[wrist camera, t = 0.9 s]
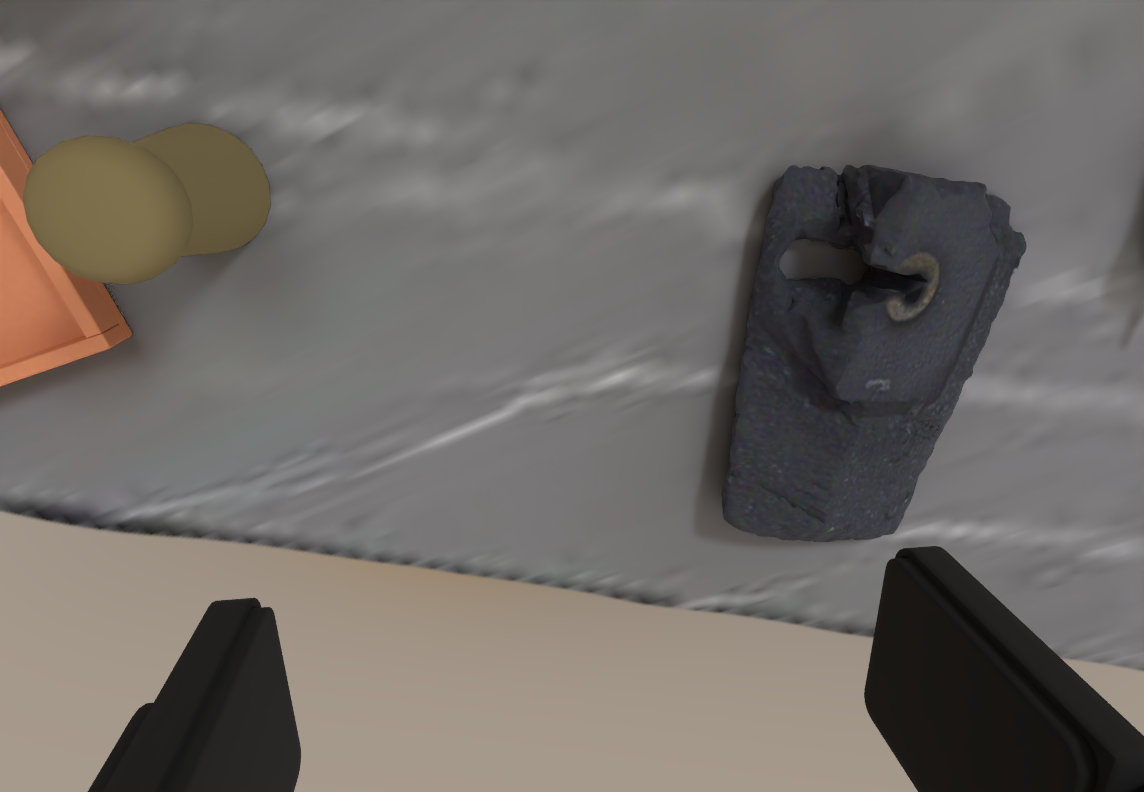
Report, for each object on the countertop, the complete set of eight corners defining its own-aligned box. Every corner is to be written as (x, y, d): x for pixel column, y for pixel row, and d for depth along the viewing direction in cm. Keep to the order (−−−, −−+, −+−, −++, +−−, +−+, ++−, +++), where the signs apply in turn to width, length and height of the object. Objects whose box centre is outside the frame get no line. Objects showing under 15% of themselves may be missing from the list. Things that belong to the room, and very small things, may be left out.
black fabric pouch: (671, 511, 44) (691, 554, 39) (780, 138, 37) (821, 140, 32) (893, 542, 46) (936, 585, 42) (1036, 200, 39) (1106, 210, 35)
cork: (184, 271, 36) (63, 331, 25) (110, 153, 33) (-55, 167, 23) (294, 223, 35) (216, 264, 25) (227, 101, 33) (111, 92, 23)
